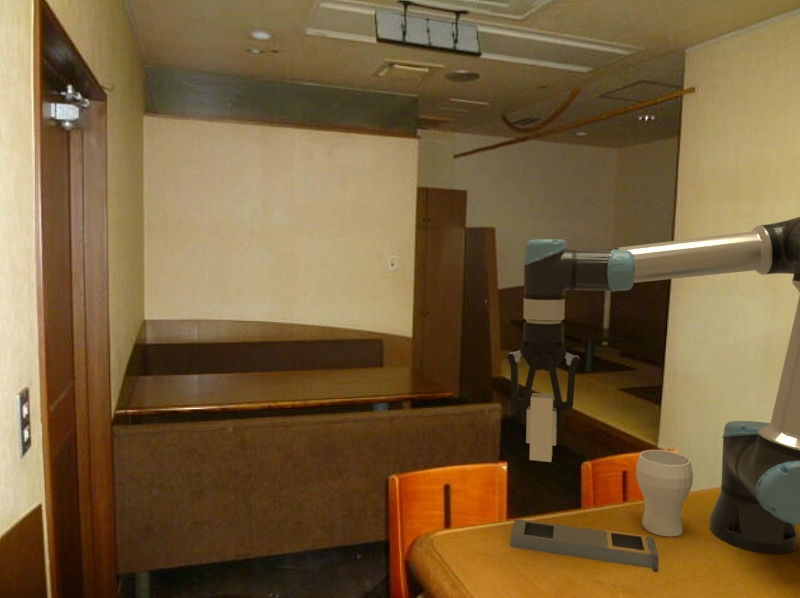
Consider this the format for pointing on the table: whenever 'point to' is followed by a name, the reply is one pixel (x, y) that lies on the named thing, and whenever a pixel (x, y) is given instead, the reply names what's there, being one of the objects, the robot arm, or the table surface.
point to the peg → (541, 427)
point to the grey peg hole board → (586, 543)
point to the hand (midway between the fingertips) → (541, 441)
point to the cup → (663, 489)
